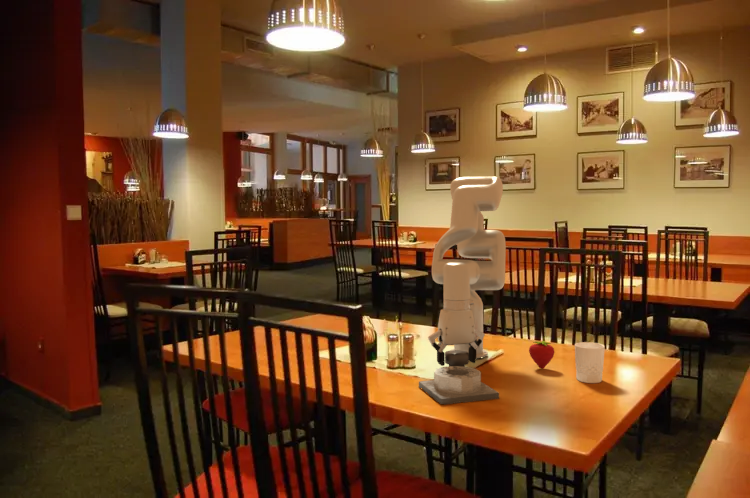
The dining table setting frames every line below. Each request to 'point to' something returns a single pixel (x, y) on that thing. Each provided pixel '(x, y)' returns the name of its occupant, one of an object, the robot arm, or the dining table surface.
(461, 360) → the cap
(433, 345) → the robot arm
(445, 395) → the square base disc pedestal
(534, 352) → the strawberry
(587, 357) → the white cup
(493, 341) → the dining table surface
